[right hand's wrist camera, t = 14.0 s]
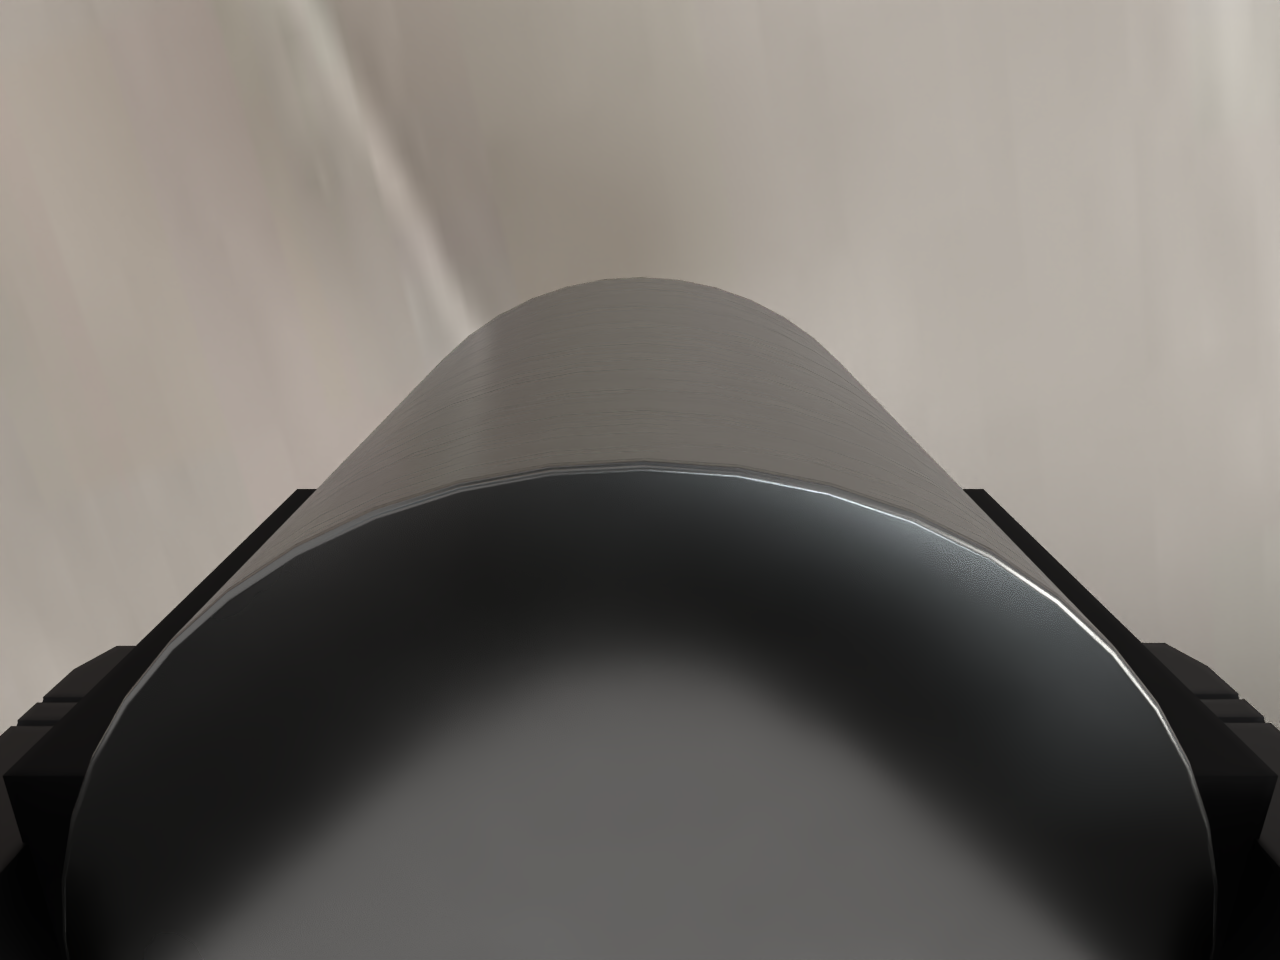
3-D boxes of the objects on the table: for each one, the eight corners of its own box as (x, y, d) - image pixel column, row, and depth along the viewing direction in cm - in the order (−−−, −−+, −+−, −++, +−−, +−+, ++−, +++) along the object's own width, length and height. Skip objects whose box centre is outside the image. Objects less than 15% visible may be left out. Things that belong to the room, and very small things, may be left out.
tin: (437, 778, 17) (243, 1373, 8) (322, 315, 14) (-147, 549, 5) (906, 730, 16) (1172, 1304, 8) (893, 242, 13) (1296, 378, 5)
